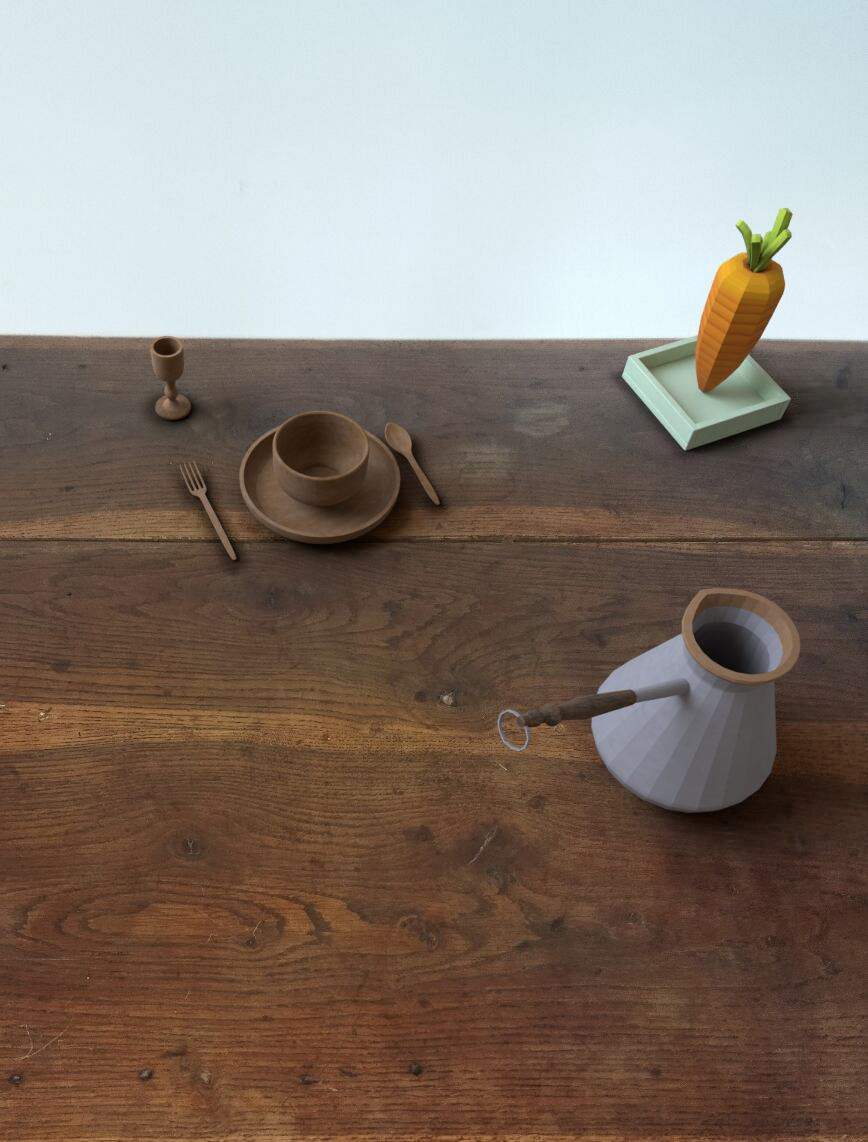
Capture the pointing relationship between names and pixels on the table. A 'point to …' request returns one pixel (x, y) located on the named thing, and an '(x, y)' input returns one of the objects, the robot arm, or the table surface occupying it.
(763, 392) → the serving dish
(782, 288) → the carrot
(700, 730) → the coffee pot
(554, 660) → the table surface
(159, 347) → the place setting
